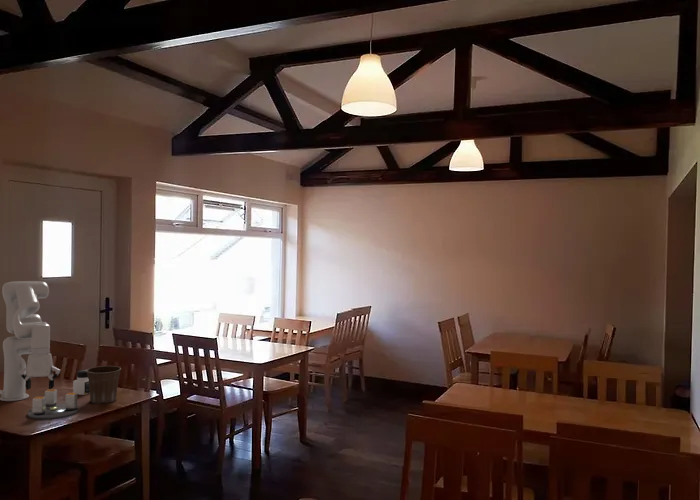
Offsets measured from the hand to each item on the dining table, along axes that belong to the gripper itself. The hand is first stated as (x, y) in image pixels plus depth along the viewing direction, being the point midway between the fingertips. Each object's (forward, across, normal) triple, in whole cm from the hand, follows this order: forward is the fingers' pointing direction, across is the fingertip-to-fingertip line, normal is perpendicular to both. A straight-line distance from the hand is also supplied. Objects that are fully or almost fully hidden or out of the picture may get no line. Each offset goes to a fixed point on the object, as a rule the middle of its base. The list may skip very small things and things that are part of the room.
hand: (39, 388), depth 258 cm
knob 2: (+11, 0, +14) cm, 18 cm away
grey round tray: (+13, +3, +8) cm, 15 cm away
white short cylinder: (+11, +11, +7) cm, 18 cm away
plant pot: (+13, +19, +28) cm, 37 cm away
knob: (+11, 0, +1) cm, 11 cm away
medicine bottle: (+12, +4, +44) cm, 46 cm away
